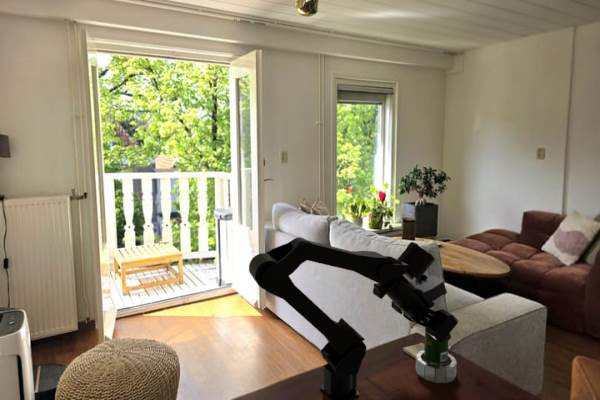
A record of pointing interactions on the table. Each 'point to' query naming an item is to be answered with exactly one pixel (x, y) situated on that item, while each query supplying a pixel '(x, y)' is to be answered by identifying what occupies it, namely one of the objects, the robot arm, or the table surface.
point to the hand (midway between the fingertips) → (441, 333)
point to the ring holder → (436, 369)
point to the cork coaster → (414, 349)
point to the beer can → (435, 349)
